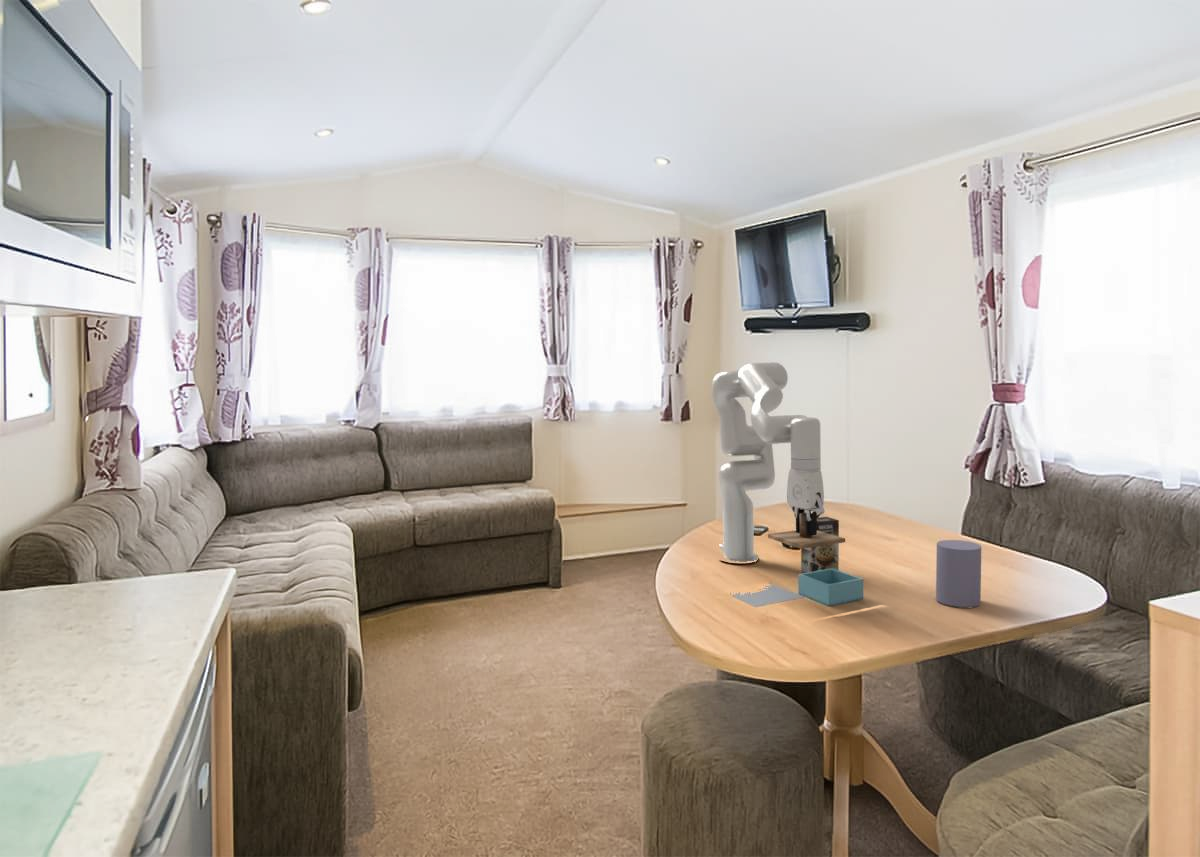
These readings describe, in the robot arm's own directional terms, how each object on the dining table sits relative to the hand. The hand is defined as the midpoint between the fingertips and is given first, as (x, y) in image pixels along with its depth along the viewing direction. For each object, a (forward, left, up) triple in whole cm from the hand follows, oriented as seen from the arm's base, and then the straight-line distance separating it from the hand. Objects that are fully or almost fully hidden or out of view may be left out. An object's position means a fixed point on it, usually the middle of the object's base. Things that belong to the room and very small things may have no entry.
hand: (806, 533), depth 199 cm
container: (+22, +31, -18) cm, 42 cm away
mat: (-7, -9, -18) cm, 21 cm away
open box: (+4, +5, -18) cm, 19 cm away
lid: (0, 0, -2) cm, 2 cm away
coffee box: (-16, +19, -18) cm, 31 cm away
